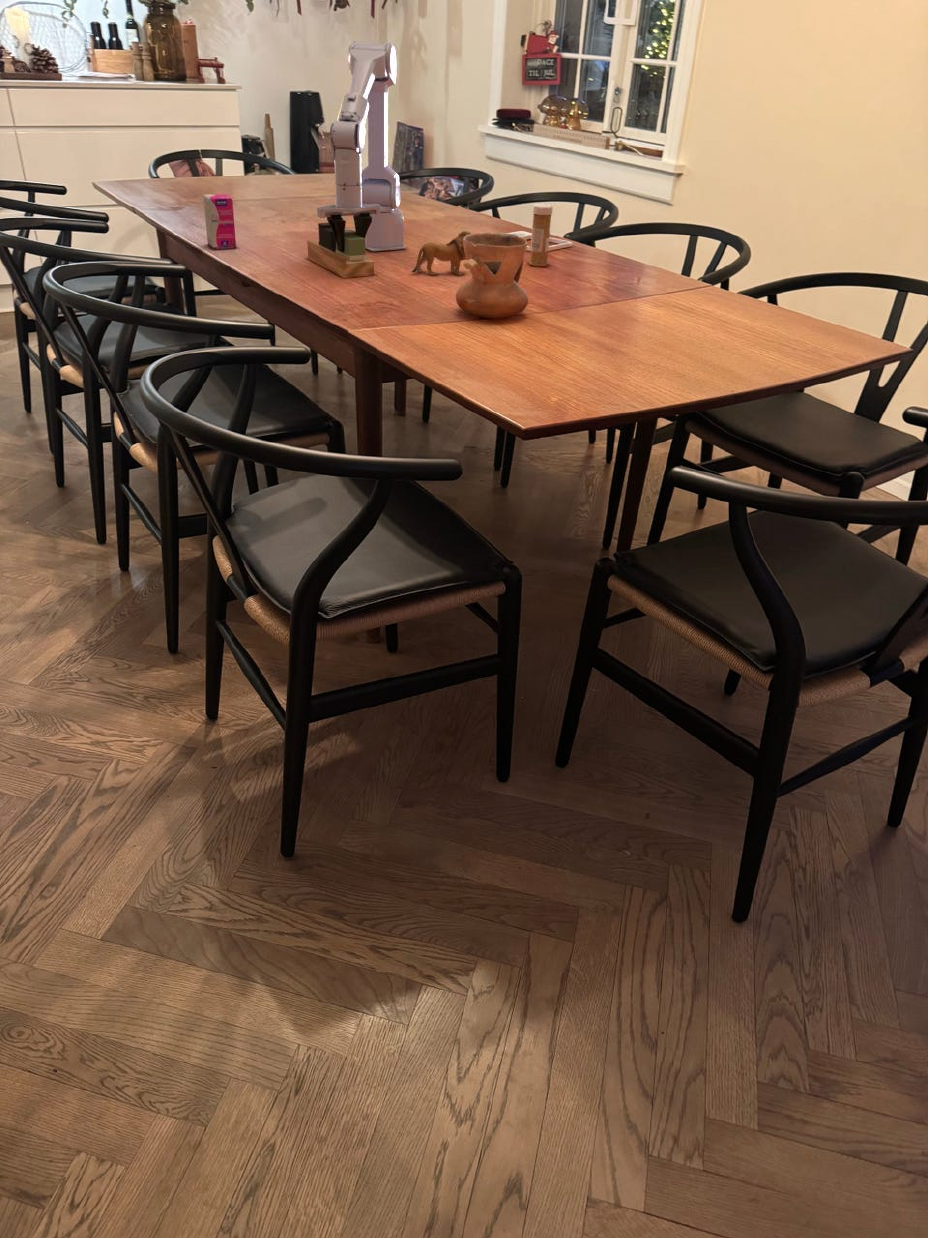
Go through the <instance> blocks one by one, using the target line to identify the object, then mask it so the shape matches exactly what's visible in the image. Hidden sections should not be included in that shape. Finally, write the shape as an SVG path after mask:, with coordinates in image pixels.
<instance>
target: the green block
mask: <svg viewBox="0 0 928 1238" xmlns="http://www.w3.org/2000/svg"><path fill="white" fill-rule="evenodd" d="M344 239H345V250H344V252H340V251H338V247H337V243H336V253H337V254H339V255H341V256H343V257H345V258H346V259H347V260H349V261H356V260H366V258H367V255H366V248H365V239H364V238H362V237H360V236H358V235H356V232H355V230H352V229H345V235H344Z"/></svg>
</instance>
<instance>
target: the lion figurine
mask: <svg viewBox="0 0 928 1238" xmlns="http://www.w3.org/2000/svg"><path fill="white" fill-rule="evenodd" d="M470 234H472V233H471V232H470V231H468V230H463V231H461V232H460V233H458V234H457V236H456V237H455V238H452V240H450V241H449V242H447V243H445V244H442V243H436V242H433V241H432V242H431V241H429V242H426V243H424V244H423V245H422V246H420V247H421V248H420V249H419V252H418V254H417V259H416V264H415V266H414V268H413V269H412V270H411V273H416V272H418V273H423V271H424V270H423V268H421V266H422V265H423V264H425V263H427V265H426V269H427V271H428V272H429V276H436V275H437V274H436V272H435V271H433V269H432V266H433V263H434V261H435V259H437V260H438V261H440V262H450V272H451V273H453V274H455V275H456V276H462V272H460V267H461V262H462V261H467V260H466V256H465V252H464V246H463V238H464V237H465V236H467V235H470Z"/></svg>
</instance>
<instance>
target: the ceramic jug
mask: <svg viewBox="0 0 928 1238" xmlns="http://www.w3.org/2000/svg"><path fill="white" fill-rule="evenodd" d="M463 246H464V252H465V256H466V260H465V262H464V263H463V267H464V268H465V269H466V270H469V271H470V275H471V278H470V279H468V280H467V281H465V282H464V283H462V284H461V285H460V286H459V287H458V288H457V290H456V292H455V302H456V304H457V306H458V307H459V309H461V311H463V312H464V313H467V314H469V315H471V316H473V317H477V318H482V319H506V318H510V317H513V316H516V315H518V314H520V313H521V312H523V311H524V310H525V309H526V308H527V306H528V304H529V295H528V293H527V291H526V290H525V289H524V287H522V286H521V285H519V281H520V279H521V275H522V271H523V267H524V257H525V254H526V251H527V250H526V247H527V246H528V241H527V239H524V238H523V237H519V236H517V235H513V234H506V233H503V232H475V233H471V234H470V235H467V236H465V237H464V238H463Z"/></svg>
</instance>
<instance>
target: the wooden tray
mask: <svg viewBox="0 0 928 1238" xmlns="http://www.w3.org/2000/svg"><path fill="white" fill-rule="evenodd" d="M306 242H307V259H308V260H310V261H312V262H314V263H315V264H317V265H319V266H321V267H322V268H325V270H328V271H330V272H332V273H334V274H336V275H338V276H339V277H341V278H344V279H349V278H358V277H369V276H375V261H374V260H372V259H370V258H368V257H366V260H356V261H349V260H347V259H346V258H345V257H343V256H341V255H339V254H337V253H336V252H333V251H331V250H329V249H327V248H325V247H323V246H321V245H319V243H317V242H314V241H313V240H311V239H307V241H306Z"/></svg>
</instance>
